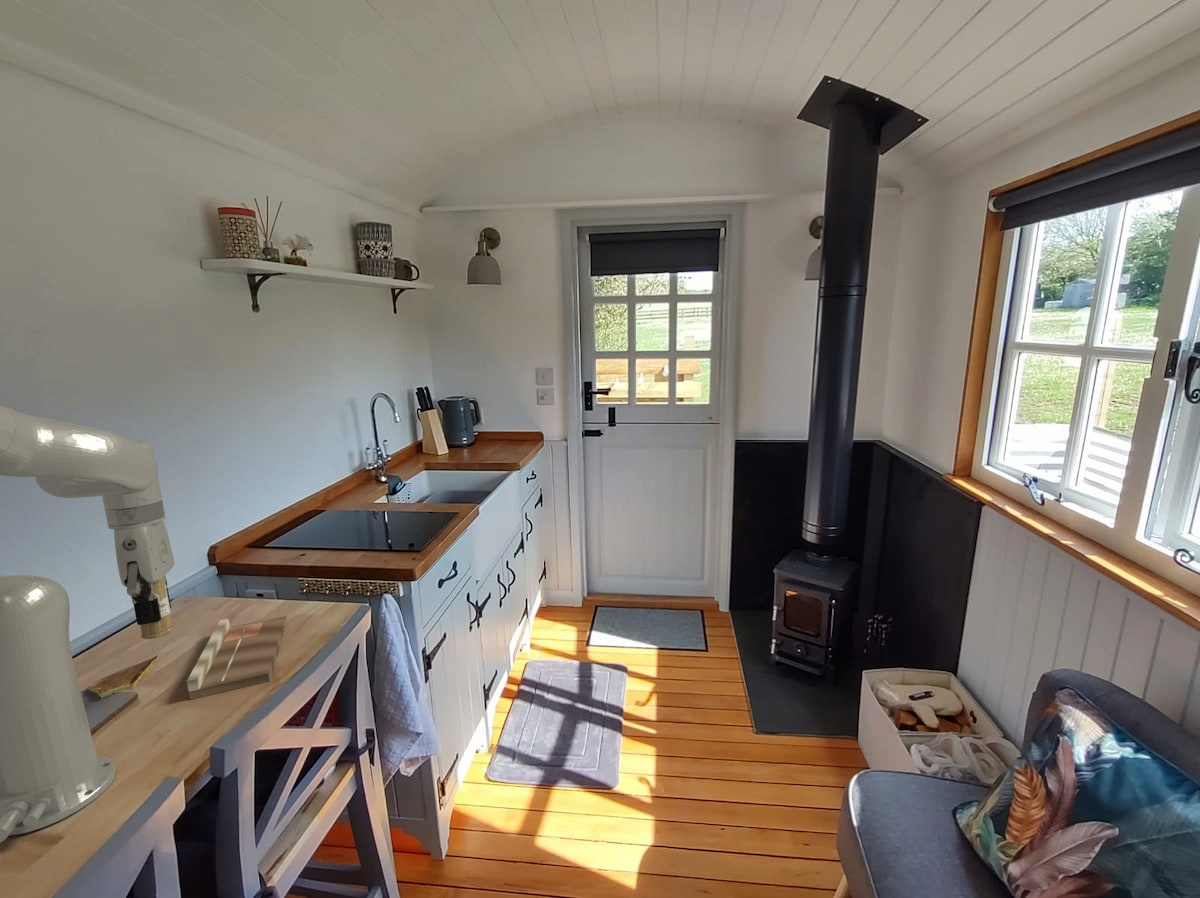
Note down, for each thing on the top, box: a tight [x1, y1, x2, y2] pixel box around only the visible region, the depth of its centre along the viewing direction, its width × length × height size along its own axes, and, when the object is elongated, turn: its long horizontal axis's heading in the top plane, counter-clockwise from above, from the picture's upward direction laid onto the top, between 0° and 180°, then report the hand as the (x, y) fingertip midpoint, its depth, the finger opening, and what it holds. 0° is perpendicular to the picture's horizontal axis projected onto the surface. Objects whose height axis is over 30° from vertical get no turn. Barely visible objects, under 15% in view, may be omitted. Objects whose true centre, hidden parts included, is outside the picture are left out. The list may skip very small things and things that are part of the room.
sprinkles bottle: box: [139, 577, 174, 640], centre depth 96 cm, size 5×5×14 cm
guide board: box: [186, 615, 288, 700], centre depth 109 cm, size 24×12×4 cm, turn 22°
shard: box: [88, 655, 159, 697], centre depth 103 cm, size 11×8×2 cm
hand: (154, 615), depth 97 cm, fingers closed on sprinkles bottle, 4 cm apart
